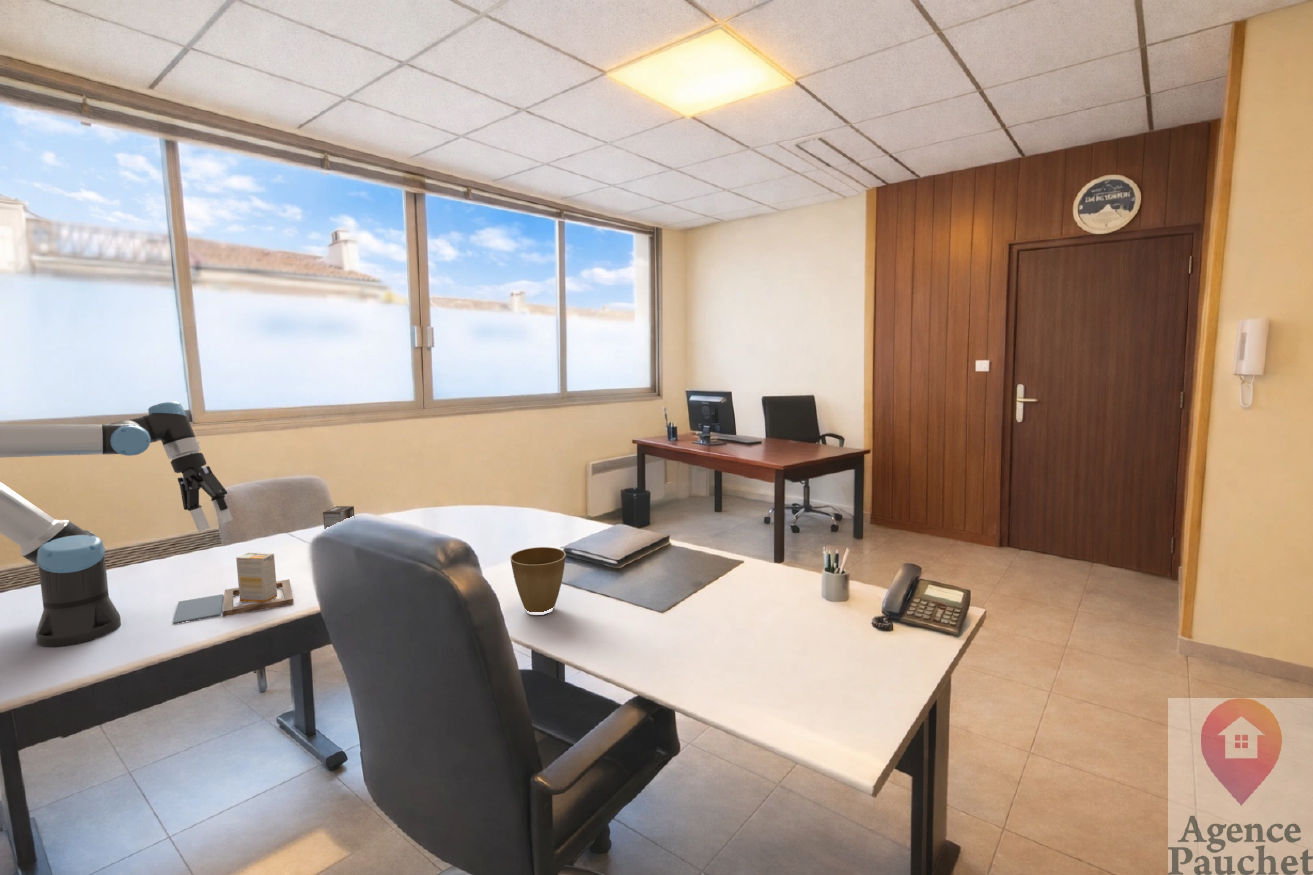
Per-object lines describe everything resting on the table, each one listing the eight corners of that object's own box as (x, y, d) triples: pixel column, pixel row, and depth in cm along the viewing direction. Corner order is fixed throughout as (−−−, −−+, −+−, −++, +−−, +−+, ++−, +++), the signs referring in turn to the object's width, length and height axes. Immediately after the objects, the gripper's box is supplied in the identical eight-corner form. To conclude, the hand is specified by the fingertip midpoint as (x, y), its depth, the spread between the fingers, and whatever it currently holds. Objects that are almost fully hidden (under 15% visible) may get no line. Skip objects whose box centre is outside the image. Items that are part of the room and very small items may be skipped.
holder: (223, 616, 159) (222, 611, 159) (225, 594, 174) (224, 589, 174) (293, 603, 168) (293, 598, 168) (289, 583, 183) (289, 579, 183)
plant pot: (533, 596, 176) (533, 543, 174) (576, 606, 169) (576, 551, 167) (499, 615, 163) (498, 558, 161) (544, 626, 156) (543, 567, 154)
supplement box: (278, 596, 173) (275, 552, 171) (266, 603, 168) (262, 558, 167) (251, 595, 174) (248, 551, 172) (238, 601, 169) (235, 556, 167)
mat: (173, 624, 154) (173, 622, 154) (178, 603, 167) (178, 601, 167) (221, 615, 160) (221, 613, 160) (222, 596, 173) (222, 594, 173)
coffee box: (339, 548, 217) (337, 505, 216) (356, 549, 217) (354, 505, 215) (325, 556, 208) (322, 511, 206) (343, 557, 208) (341, 512, 206)
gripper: (221, 441, 166) (251, 513, 167) (180, 462, 178) (209, 528, 180) (191, 448, 159) (222, 522, 161) (151, 469, 171) (181, 538, 173)
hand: (215, 526), depth 170 cm, fingers open, 13 cm apart
